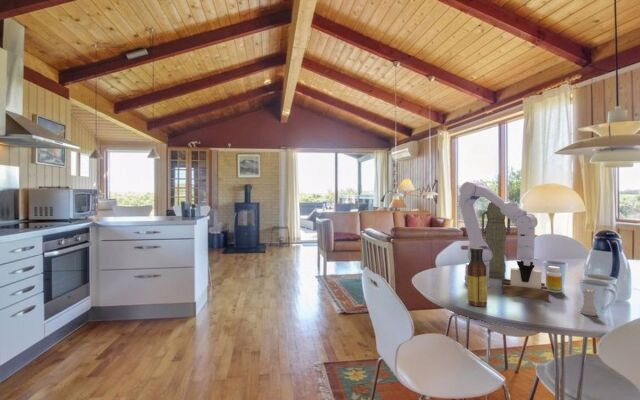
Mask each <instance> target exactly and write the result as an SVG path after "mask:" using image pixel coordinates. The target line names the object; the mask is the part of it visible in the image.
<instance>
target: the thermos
mask: <svg viewBox="0 0 640 400" xmlns="http://www.w3.org/2000/svg"><path fill="white" fill-rule="evenodd" d="M485 215H486V219H487V220H486V225H485ZM505 220H506V216H505V215H504V214H502V213H501V210H500V208H499V207H498V206H496V205H495V204H493V203H492V202H491V201H490V202H489V203H488V205H487V208H486V211H483V213H482V215H481V234H482V235H483V234H484V239H485V242H486V243H487V244H488V247H489V249H490V250H491V251H492V254H493V257H492V259H491V260H490V261H489V279H496V280H502V279H506V269H507V268H506V267H507V266H506V261H505V254H506V253H505V252H506V251H505V250H506V249H505V248H506V240H507V236H508V235H510V234H511V220H510V219H509V218H507V226H506V221H505Z"/></svg>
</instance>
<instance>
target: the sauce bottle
mask: <svg viewBox="0 0 640 400" xmlns="http://www.w3.org/2000/svg"><path fill="white" fill-rule="evenodd" d="M470 252H471V261H469V262H468V263H469V264H468V274H467V283H468V285H467V302H468V304H469V305H471V306H472V307H473V306H474V307H478V308H480V307H486V306H487V305H488V287H487V275H486V266H485V264H484V262H483V259H482V253H483V248H479V247H471V248H470Z"/></svg>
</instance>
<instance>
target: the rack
mask: <svg viewBox="0 0 640 400" xmlns="http://www.w3.org/2000/svg"><path fill="white" fill-rule="evenodd" d="M501 289H502V290H501V291H502V295H505V296H512V297H513V296H515V297H519V298H520V297H521V298H528V299H529V298H530V299H536V300H545V301H549V300H550V291H549V290H547V286H546V282H541V289H536V288H527V287H518V286H510V279H509V278H504V279H501Z"/></svg>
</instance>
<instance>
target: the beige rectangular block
mask: <svg viewBox="0 0 640 400" xmlns="http://www.w3.org/2000/svg"><path fill="white" fill-rule="evenodd" d="M542 273H543V272H542V270H536V269H533V270H532V272H531V275H530V279H529V282H522V279H521V273H520V269H519V267H518V268H517V267H510V286H518V287H527V288H536V289H541V283H542Z"/></svg>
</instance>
